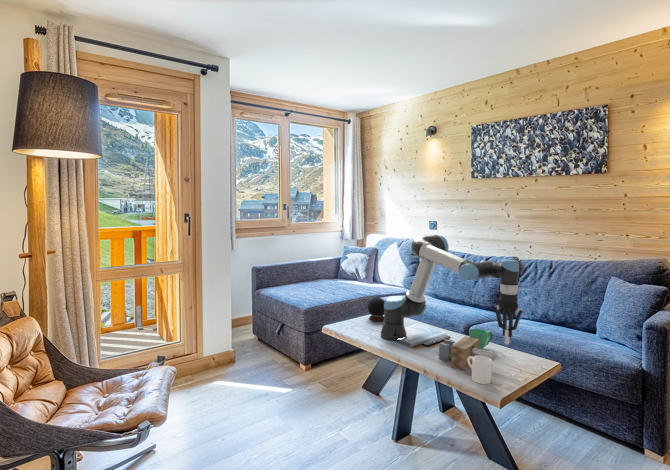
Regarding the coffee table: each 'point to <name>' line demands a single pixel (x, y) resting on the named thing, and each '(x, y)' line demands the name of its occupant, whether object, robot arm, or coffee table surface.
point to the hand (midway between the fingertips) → (507, 343)
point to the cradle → (445, 350)
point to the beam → (463, 352)
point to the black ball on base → (376, 309)
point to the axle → (481, 352)
